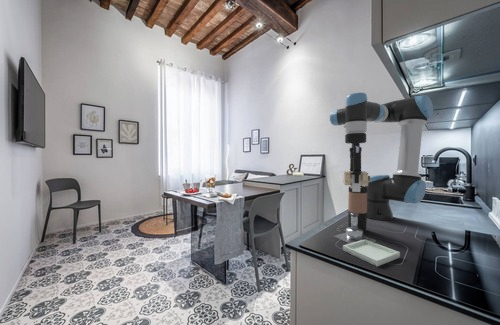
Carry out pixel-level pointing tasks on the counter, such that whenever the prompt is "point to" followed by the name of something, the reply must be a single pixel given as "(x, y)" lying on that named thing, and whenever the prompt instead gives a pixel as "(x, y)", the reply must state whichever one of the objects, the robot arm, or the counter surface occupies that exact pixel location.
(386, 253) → the tray
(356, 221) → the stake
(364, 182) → the hollow wooden box
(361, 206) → the travel mug
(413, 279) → the counter surface
